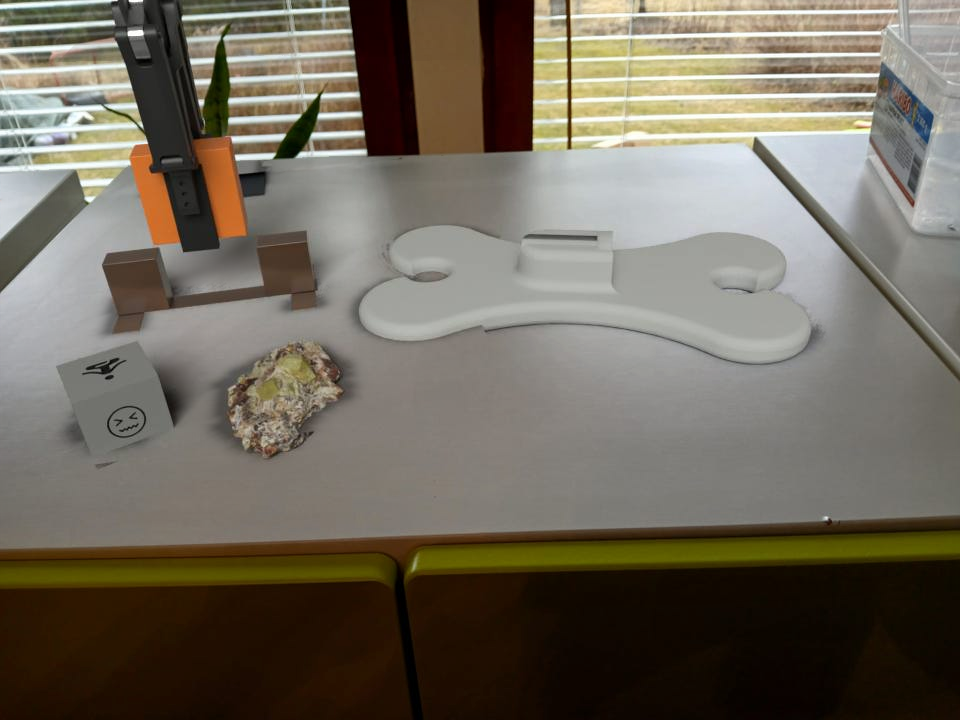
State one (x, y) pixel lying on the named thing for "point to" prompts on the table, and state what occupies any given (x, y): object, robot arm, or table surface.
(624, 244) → the table surface
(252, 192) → the mat
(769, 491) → the table surface
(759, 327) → the holder
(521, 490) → the table surface
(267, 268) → the stand
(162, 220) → the orange flat square block
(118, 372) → the dice cube
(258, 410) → the mineral rock
